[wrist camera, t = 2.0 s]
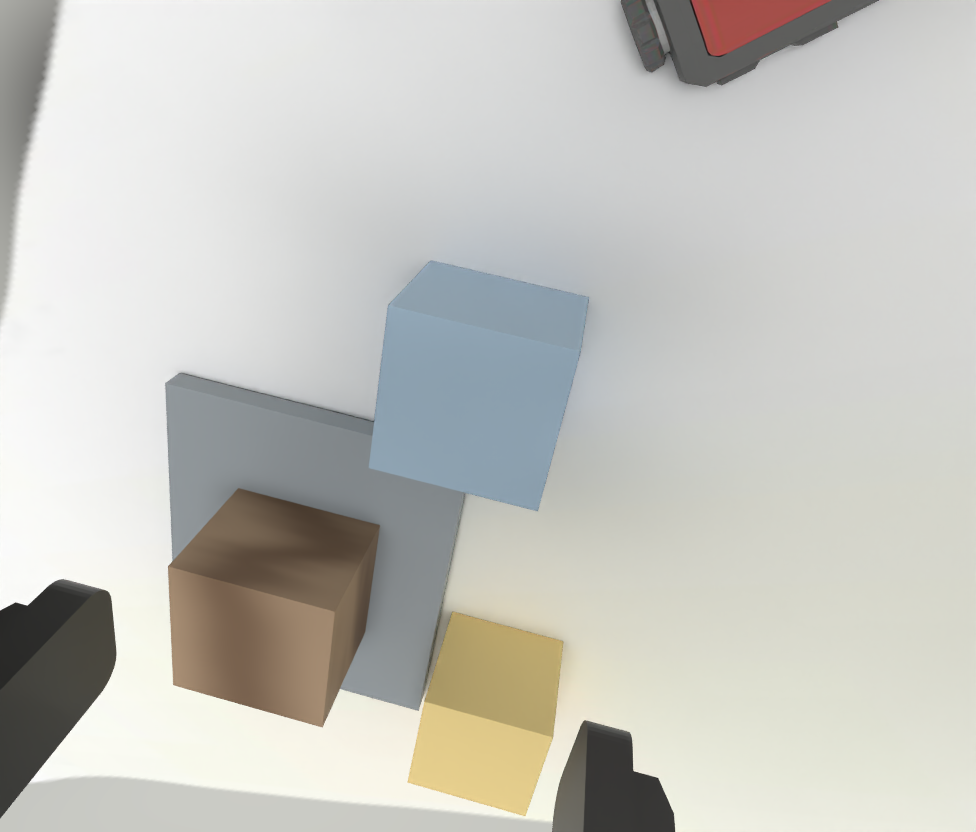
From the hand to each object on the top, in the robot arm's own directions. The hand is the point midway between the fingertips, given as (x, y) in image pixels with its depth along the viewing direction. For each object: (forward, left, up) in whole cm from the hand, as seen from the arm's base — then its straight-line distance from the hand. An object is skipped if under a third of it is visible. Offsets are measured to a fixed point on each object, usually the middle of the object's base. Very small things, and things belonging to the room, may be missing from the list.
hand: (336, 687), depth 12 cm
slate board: (+6, +11, -15) cm, 20 cm away
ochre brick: (-3, +15, -15) cm, 22 cm away
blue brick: (0, 0, -15) cm, 15 cm away
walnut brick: (+6, +11, -14) cm, 19 cm away
